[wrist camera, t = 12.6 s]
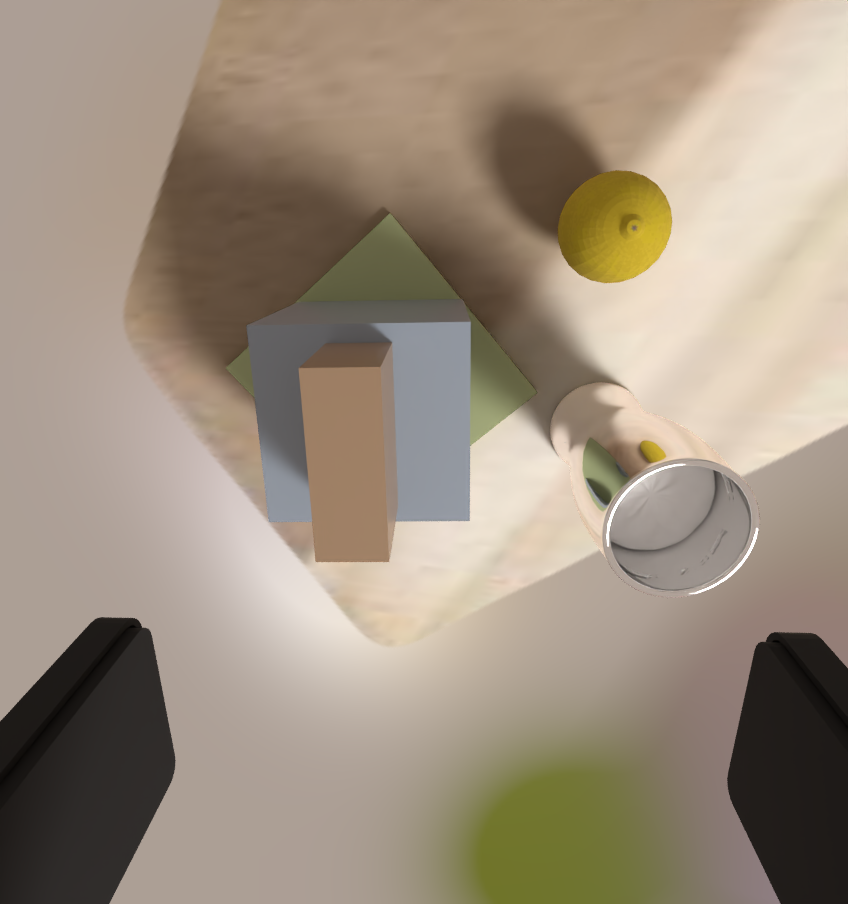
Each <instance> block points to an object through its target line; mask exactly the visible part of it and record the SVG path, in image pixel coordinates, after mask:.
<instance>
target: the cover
mask: <svg viewBox="0 0 848 904" xmlns="http://www.w3.org/2000/svg"><path fill="white" fill-rule="evenodd" d="M246 327H247V335H248V344H249V353H250V362H251V370H252V379H253V388H254V397H255V405H256V414H257V423H258V432H259V440H260V449H261V458H262V467H263V475H264V484H265V493H266V501H267V510H268V519H269V522H312V526H313V537H314V548H315V560H316V562H389V559H390V553H391V547H392V541H393V535H394V528H395V522H396V521H470V353H471V321H470V318H469V315H468V312H467V309H466V306H465V303H464V300H463V299H432V300H375V301H317V302H297V303H295V304H293V305H290V306H288V307H286V308H284V309H281V310H279V311H277V312H275V313H273V314H270V315H268V316H266V317H264V318H262V319H259V320H257V321H255V322H253V323H251V324H248V325H246Z"/></svg>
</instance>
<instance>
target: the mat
mask: <svg viewBox="0 0 848 904" xmlns="http://www.w3.org/2000/svg"><path fill="white" fill-rule="evenodd" d="M432 299H461V298H460V297H459V296H458V295H457V293H456V292H455V291H454V290H453V289H452V287H451V286H450V285H449V284H448V282H447V281H446V280H445V279H444V278H443V276H442V275H441V274H440V273H439V271H438V270H437V269H436V268H435V267H434V265H433V264H432V263H431V262H430V260H429V259H428V258H427V257H426V256H425V254H424V253H423V252H422V251H421V249H420V248H419V247H418V246H417V245H416V243H415V242H414V241H413V240H412V239H411V237H410V236H409V235H408V234H407V232H406V231H405V230H404V229H403V228H402V226H401V225H400V224H399V223H398V221H397V220H396V219H395V218H394V217H393V215H392V214H391V213H390V214H389V215H387V216H386V217H385V218H384V219H383V220H382V221H381V222H380V223H379V224H378V225H377V226H376V227H375V228H374V229H373V230H372V231H371V232H369V233H368V234H367V235H366V236H365V237H364V238H363V239H362V240H361V241H360V242H359V243H358V244H357V245H356V246H355V247H354V248H352V249H351V250H350V251H349V252H348V253H347V254H346V255H345V256H344V257H343V258H342V259H341V260H340V261H339V262H338V263H337V264H336V265H334V266H333V267H332V268H331V269H330V270H329V271H328V272H327V273H326V274H325V275H324V276H323V277H322V278H321V279H320V280H319V281H317V282H316V283H315V284H314V285H313V286H312V287H311V288H310V289H309V290H308V291H307V292H306V293H305V294H304V295H303V296H302V297H300V298H299V299H298V300H297V301H296V302H295V303H297V302H317V301H375V300H432ZM295 303H294V304H295ZM465 306H466V304H465ZM466 309H467V312H468V315H469V318H470V321H471V353H470V446H471V445H472V444H473V443H474V442H476V441H477V440H478V439H480V438H481V437H482V436H483V435H485V434H486V433H487V432H488V431H490V430H491V429H492V428H493V427H495V426H496V425H497V424H499V423H500V422H501V421H502V420H504V419H505V418H506V417H507V416H509V415H510V414H511V413H512V412H514V411H515V410H516V409H518V408H519V407H520V406H521V405H523V404H524V403H525V402H526V401H528V400H529V399H530V398H531V397H533V396H534V395H535V394H537V391H536V390H535V389H534V387H533V386H532V385H531V384H530V383H529V381H528V380H527V379H526V378H525V376H524V375H523V374H522V373H521V372H520V370H519V369H518V368H517V367H516V365H515V364H514V363H513V362H512V361H511V359H510V358H509V357H508V356H507V354H506V353H505V352H504V351H503V350H502V348H501V347H500V346H499V345H498V343H497V342H496V341H495V340H494V339H493V337H492V336H491V335H490V334H489V332H488V331H487V330H486V329H485V328H484V326H483V325H482V324H481V323H480V322H479V320H478V319H477V318H476V317H475V315H474V314H473V313H472V312H471V311H470V309H469V308H468V307H467V306H466ZM226 369H227V370H228V371H229V372H230V373H231V374H232V375H233V376H234V377H235V378H236V379H237V380H238V382H239V383H240V384H241V385H242V386H243V387H244V388H245V389H246V390H247V391H248V392H249V393H250V394H251V395H252V396H253V397H254V388H253V379H252V370H251V362H250V353H249V347H247V348H246V349H245V350H244V351H243V352H242V353H241V354H240V355H239V356H238V357H237V358H236V359H235V360H234V361H233V362H232V363H230V364H229V365H228V366H227V367H226ZM254 398H255V397H254Z"/></svg>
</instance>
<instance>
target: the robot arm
mask: <svg viewBox="0 0 848 904" xmlns="http://www.w3.org/2000/svg"><path fill="white" fill-rule="evenodd" d="M174 770H175V754H174V749H173V743H172V738H171V733H170V728H169V723H168V717H167V712H166V708H165V702H164V697H163V691H162V686H161V682H160V676H159V671H158V665H157V660H156V655H155V650H154V645H153V640H152V635H151V632H150V631H149V629H147V628H142V626H141V624H140V622H139V621H138V620H137V619H135V618H104V617H101V618H97V619H95V620H94V621H93V622H91V623H90V624H89V626H88V627H87V628H86V629H85V630H84V631H83V632H82V633H81V634H80V635H79V636H78V638H77V639H76V640H75V641H74V642H73V643H72V644H71V645H70V646H69V647H68V649H67V650H66V651H65V652H64V653H63V654H62V655H61V656H60V657H59V658H58V659H57V660H56V662H55V663H54V664H53V665H52V666H51V667H50V668H49V669H48V670H47V671H46V673H45V674H44V675H43V676H42V677H41V678H40V679H39V680H38V681H37V682H36V683H35V684H34V685H33V687H32V688H31V689H30V690H29V691H28V692H27V693H26V694H25V695H24V696H23V697H22V698H21V700H20V701H19V702H18V703H17V704H16V705H15V706H14V707H13V708H12V710H10V712H9V713H8V714H7V715H6V716H5V717H4V718H3V719H2V720H1V721H0V904H109V903H110V901H111V899H112V897H113V895H114V893H115V891H116V889H117V887H118V885H119V883H120V881H121V880H122V878H123V876H124V874H125V872H126V870H127V868H128V866H129V864H130V862H131V860H132V858H133V856H134V854H135V852H136V850H137V848H138V846H139V844H140V842H141V840H142V838H143V836H144V834H145V832H146V831H147V828H148V827H149V824H150V823H151V821H152V819H153V817H154V815H155V813H156V811H157V809H158V807H159V805H160V803H161V801H162V799H163V797H164V795H165V793H166V791H167V789H168V787H169V785H170V783H171V781H172V778H173V774H174ZM727 779H728V780H727V781H728V790H729V795H730V799H731V801H732V804H733V806H734V808H735V810H736V812H737V814H738V816H739V818H740V820H741V823H742V825H743V827H744V829H745V831H746V832H747V835H748V837H749V839H750V841H751V843H752V845H753V847H754V849H755V851H756V854H757V855H758V858H759V860H760V862H761V864H762V866H763V868H764V870H765V872H766V874H767V876H768V878H769V881H770V883H771V884H772V887H773V889H774V891H775V893H776V895H777V897H778V899H779V901H780V903H781V904H848V668H847V667H846V666H845V665H844V664H843V663H842V661H841V660H839V658H838V657H837V656H836V655H835V653H834V652H833V651H832V650H831V649H830V648H829V647H828V646H827V645H826V644H825V642H824V641H823V640H822V639H821V638H820V637H818V636H817V635H816V634H812V633H782V632H781V633H780V632H779V633H778V632H774V633H771V634H770V635H769V636H768V637H767V640H766V642H760V643H758V645H757V646H756V648H755V651H754V656H753V661H752V666H751V670H750V675H749V680H748V684H747V689H746V693H745V698H744V702H743V707H742V711H741V716H740V721H739V726H738V730H737V735H736V739H735V744H734V749H733V753H732V758H731V762H730V767H729V772H728V778H727Z"/></svg>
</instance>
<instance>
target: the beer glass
mask: <svg viewBox="0 0 848 904" xmlns="http://www.w3.org/2000/svg"><path fill="white" fill-rule="evenodd" d="M550 436H551V441H552V444H553V447H554V449H555V451H556V453H557V454H558V455H559V457H560V458H561V459H562V460H563V461H564V462H565V463H567V464H568V465H569V466H570V478H571V487H572V492H573V497H574V501H575V504H576V507H577V510H578V512H579V514H580V517H581V519H582V521H583V524H584V525H585V527H586V529H587V531H588V532H589V534H590V536H591V538H592V539H593V541H594V542H595V544H596V545H597V547H598V548H599V550H600V551H601V552H602V554H603V555H604V556H605V558H606V559H607V561H608V563H609V565H610V566H611V568H612V569H613V571H614V572H615V573H616V574H617V576H618V577H619V578H620V579H621V580H623V581H624V582H625V583H626V584H628V585H629V586H631V587H633V588H634V589H636V590H638V591H641V592H643V593H646V594H649V595H653V596H658V597H670V598H672V597H685V596H690V595H695V594H698V593H701V592H704V591H707V590H709V589H711V588H713V587H715V586H717V585H719V584H720V583H722V582H724V581H725V580H726V579H728V578H729V577H730V576H731V575H733V574H734V573H735V572H736V571H737V570H738V569H739V568H740V567H741V565H743V563H744V562H745V561H746V559H747V558H748V556H749V555H750V553H751V551H752V549H753V547H754V545H755V542H756V539H757V536H758V532H759V525H760V514H759V508H758V503H757V500H756V498H755V496H754V493H753V491H752V490H751V488H750V487H749V485H748V484H747V483H746V481H745V480H744V479H743V478H742V477H741V476H740V475H739V474H737V473H736V472H735V471H734V470H733V469H732V468H731V467H730V466H729V464H728V463H727V462H726V461H725V460H724V459H723V458H722V457H721V456H720V455H719V454H718V453H717V452H716V451H715V450H714V449H713V448H712V447H711V446H709V445H708V444H707V443H706V442H705V441H704V440H703V439H701V438H700V437H699V436H697V435H696V434H694V433H693V432H691V431H690V430H688V429H687V428H685V427H684V426H682V425H680V424H678V423H676V422H674V421H671V420H669V419H667V418H664V417H662V416H659V415H656V414H652V413H649V412H645V411H643V409H642V407H641V405H640V403H639V402H638V400H637V399H636V398H635V396H634V395H633V394H632V393H630V392H629V391H628V390H626V389H625V388H623V387H621V386H619V385H616V384H612V383H606V382H596V383H590V384H586V385H583V386H581V387H578V388H577V389H575V390H573V391H572V392H570V393H569V394H568V395H567V396H565V397H564V398H563V399H562V401H561V402H560V403H559V405H558V406H557V408H556V409H555V411H554V414H553V416H552V420H551V425H550Z"/></svg>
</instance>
